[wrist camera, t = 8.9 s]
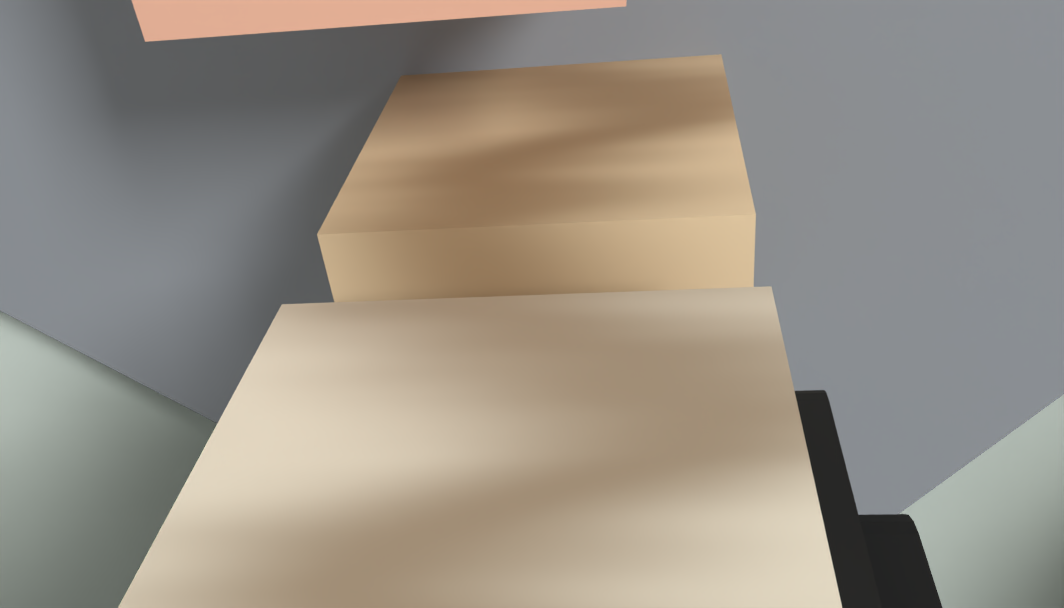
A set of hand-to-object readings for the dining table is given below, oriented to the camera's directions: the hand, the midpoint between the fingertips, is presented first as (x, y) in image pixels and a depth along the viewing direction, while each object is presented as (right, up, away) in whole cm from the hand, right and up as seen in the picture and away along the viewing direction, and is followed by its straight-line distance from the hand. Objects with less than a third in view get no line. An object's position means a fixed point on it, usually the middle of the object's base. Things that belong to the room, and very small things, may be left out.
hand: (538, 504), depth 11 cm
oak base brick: (+1, +4, +6) cm, 7 cm away
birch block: (0, 0, 0) cm, 0 cm away
